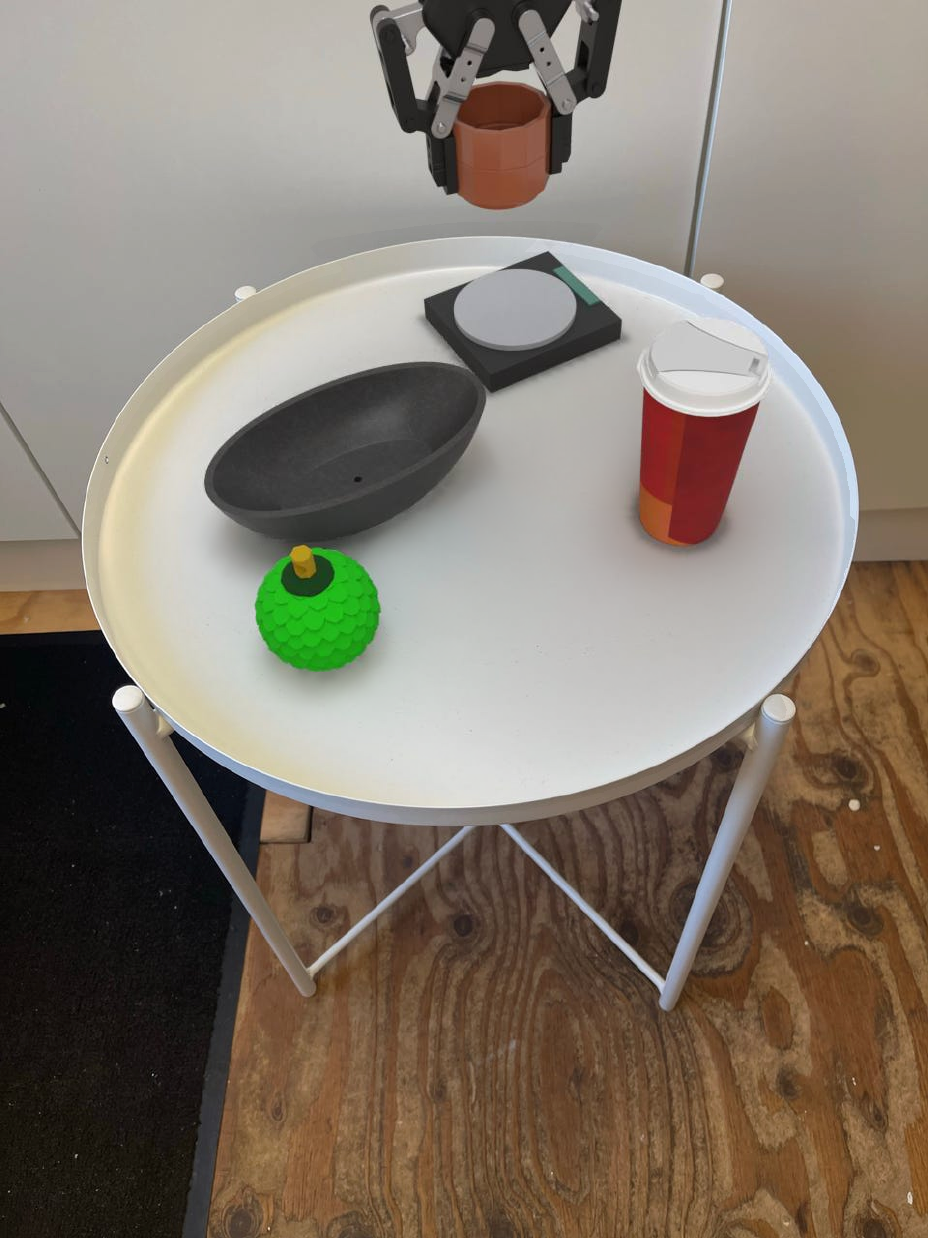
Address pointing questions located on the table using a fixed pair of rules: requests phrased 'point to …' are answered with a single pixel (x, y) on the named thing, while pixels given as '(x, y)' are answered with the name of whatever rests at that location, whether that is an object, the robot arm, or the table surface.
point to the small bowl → (503, 145)
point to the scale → (521, 320)
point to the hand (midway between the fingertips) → (500, 176)
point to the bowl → (347, 451)
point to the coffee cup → (696, 423)
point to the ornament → (317, 609)
